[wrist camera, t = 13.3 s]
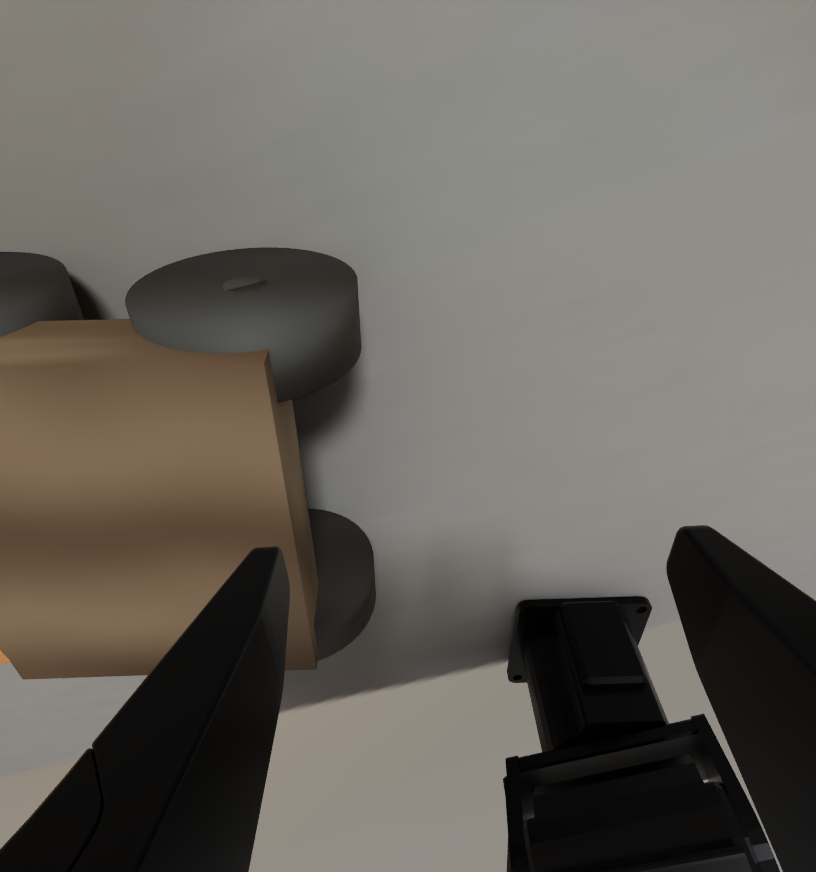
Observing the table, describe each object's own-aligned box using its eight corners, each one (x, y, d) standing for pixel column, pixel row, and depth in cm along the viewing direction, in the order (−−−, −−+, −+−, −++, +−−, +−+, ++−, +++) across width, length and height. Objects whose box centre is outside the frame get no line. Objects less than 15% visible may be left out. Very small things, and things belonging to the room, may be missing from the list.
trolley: (376, 540, 26) (374, 675, 20) (55, 549, 25) (-31, 689, 20) (360, 246, 18) (351, 341, 13) (-99, 253, 18) (-302, 354, 12)
